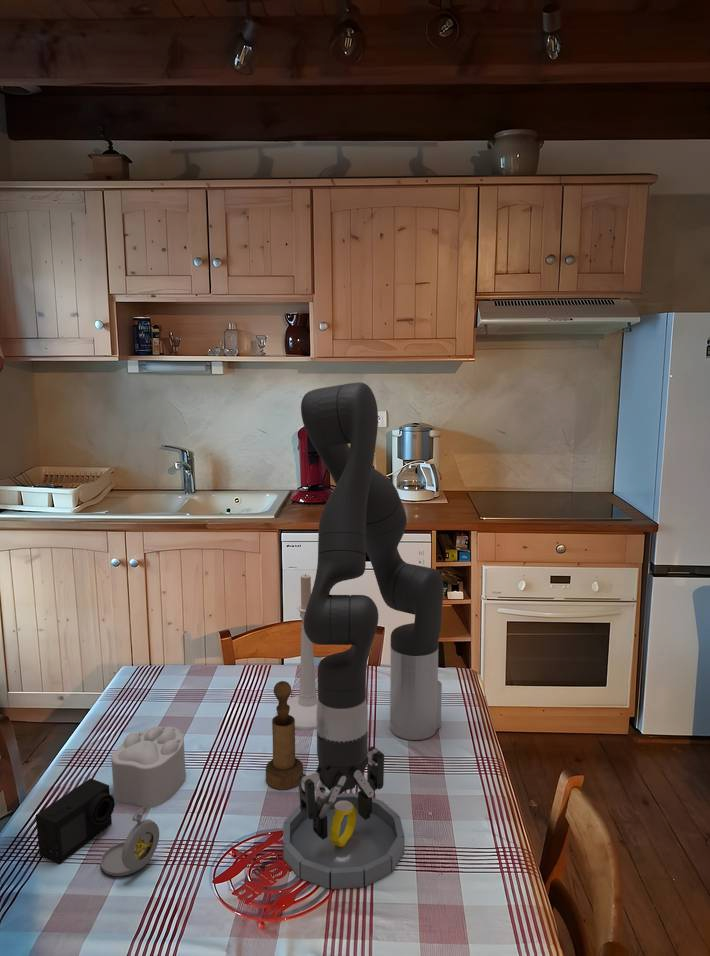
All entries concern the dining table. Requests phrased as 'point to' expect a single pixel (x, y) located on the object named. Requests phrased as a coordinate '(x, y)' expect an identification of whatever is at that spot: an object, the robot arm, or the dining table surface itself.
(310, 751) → the dining table surface
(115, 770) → the lumpy-topped squat cylinder
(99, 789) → the digital camera
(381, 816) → the round dish
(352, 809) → the watch
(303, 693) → the candlestick
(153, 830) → the pocket watch
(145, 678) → the dining table surface
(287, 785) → the mortar and pestle
